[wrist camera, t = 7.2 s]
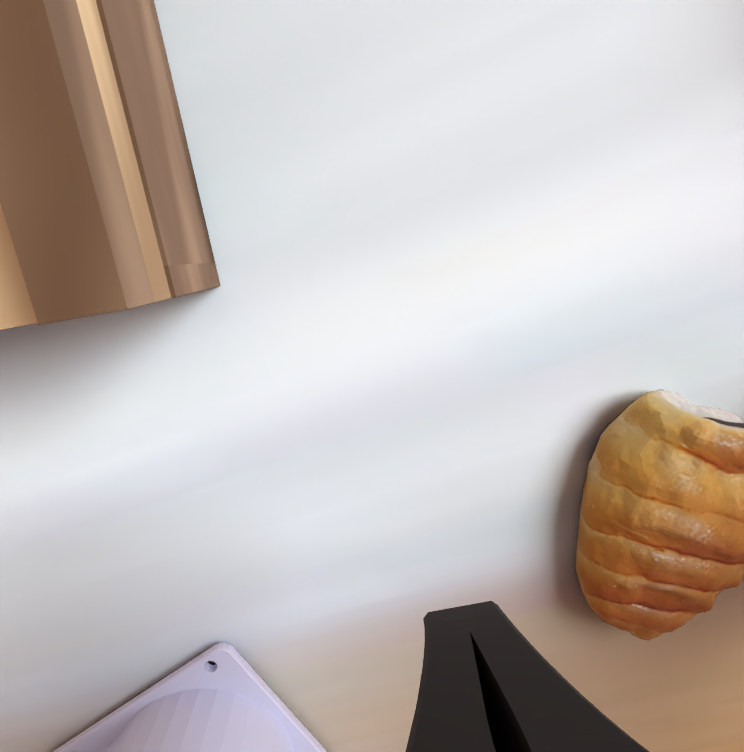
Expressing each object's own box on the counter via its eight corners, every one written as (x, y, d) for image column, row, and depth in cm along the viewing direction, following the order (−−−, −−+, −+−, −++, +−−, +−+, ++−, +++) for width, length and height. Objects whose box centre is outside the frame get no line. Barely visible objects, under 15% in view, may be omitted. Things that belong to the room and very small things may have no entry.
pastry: (679, 623, 23) (743, 695, 19) (529, 590, 22) (565, 657, 19) (770, 415, 21) (861, 450, 17) (609, 372, 20) (667, 399, 17)
